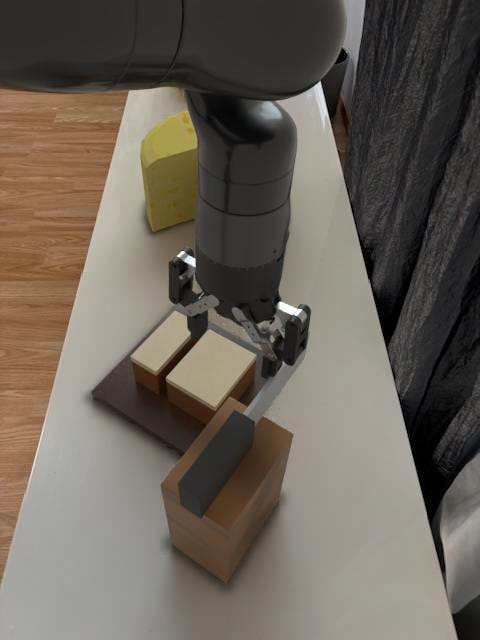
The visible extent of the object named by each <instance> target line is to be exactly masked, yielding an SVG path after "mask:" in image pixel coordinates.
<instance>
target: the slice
mask: <svg viewBox="0 0 480 640" xmlns="http://www.w3.org/2000/svg"><path fill="white" fill-rule="evenodd" d="M199 340H200V338H199ZM199 340H197V341H196V340H195V339H193V338H191V334H190V332H189V330H188V328H187V317H186V316H184V315H183V314H181V313H179V312H177V311H174V312H173V313H172V314H171V315H170V316H169V317H168V318H167V319H166V320H165V321H164V322H163V323H162V324H161V325H160V326H159V327H158V328H157V329H156V330H155V331H154V332H153V333H152V334H151V336H150V337H149V338H148V339H147V340H146V341H145V342H144V343H143V344H142V345H141V346H140V347H139V348H138V349H137V350H136V351H135V352H134V353H133V354H132V355H131V356H130V358H131V362H132V367H133V372H134V377H135V381H137V382H139V383H140V384H142V385H144V386H145V387H147V388H148V389H150V390H152V391H153V392H155V393H157V394H158V395H160V394H161V393H162V392H163V391H164V390H165V389H166V388H167V383H166V377H167V376H168V375H169V374H170V372H171V371H172V370H173V369H174V368H175V367H176V366H177V365H178V364H179V362H180V361H181V360H182V359H183V358H184V357H185V356H186V355H187V353H188V352H189V351H190V350H191V349H192V348H193V347H194V346H195V345H196V343H197V342H198V341H199Z"/></svg>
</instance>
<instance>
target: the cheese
mask: <svg viewBox="0 0 480 640" xmlns="http://www.w3.org/2000/svg"><path fill="white" fill-rule="evenodd" d="M139 158H140V159H139V160H140V166H141V167H140V169H141V176H142V184H143V192H144V199H145V207H146V209H145V210H146V214H147V215H146V216H147V220H148V222H149V226H150V228H151V231H152V232H153V233H154V232H158V231H161V230H164V229H166V228H170V227H173V226H176V225H179V224H181V223H182V224H183V223H185V222H187V221H190V220H193V219H194V220H195V202H196V196H197V136H196V132H195V129H194V126H193V123H192V120H191V117H190V114H189V111H188V110H183V111H181V112H179V113H176V114H173V115H170V116H167V117H166V118H164V119H163V120H161V121H160V122H159V123H156V125H154V126H152V127H151V128H150V129H149V131H148V132H147V133H146V134H145V136H144V137H143V139H142V140H141V144H140V152H139Z"/></svg>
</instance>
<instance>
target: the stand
mask: <svg viewBox="0 0 480 640" xmlns="http://www.w3.org/2000/svg"><path fill="white" fill-rule="evenodd" d="M247 408H248V407H247V406H245V405H243V404H242V403H240V402H238V401H237V400H235V399H233V398H231V397H229V398H228V399H227V400H226V402H225V403H224V404H223V406H222V407H221V408H220V409H219V411H218V412H217V413H216V415H215V416H214V417H213V418H212V420H211V421H210V422H209V423H208V425H207V426H206V427H205V429H204V430H203V431H202V432H201V434H200V435H199V436H198V437H197V439H196V440H195V441H194V443H193V444H192V445H191V446H190V448H189V449H188V450H187V451H186V453H185V454H184V455H183V456H181V458H180V459H179V460H178V462H177V463H176V464H175V465H174V467H173V468H172V469H171V470H170V472H169V473H168V474H167V475H166V477H165V478H164V479H163V480H162V482H161V483H160V484H159V485H160V486H159V487H160V491H161V495H162V501H163V507H164V510H165V517H166V521H167V527H168V532H169V537H170V542H171V545H172V546H173V547H174V548H176V549H177V550H179V551H180V552H182V553H183V554H184V555H186V556H187V557H188V558H190V559H191V560H192V561H194V562H195V563H197V564H198V565H199V566H201V567H202V568H203V569H205V570H206V571H208V573H211V574H212V575H213V576H214V577H216V578H217V579H219V580H220V581H221V582H222V583H224V584H228V582H229V580H230V579H231V577H232V576H233V574H234V572H235V571H236V569H237V568H238V566H239V565H240V563H241V562H242V560H243V558H244V557H245V555H246V553H247V552H248V550H249V548H250V547H251V545H252V543H253V542H254V541H255V539H256V537H257V536H258V534H259V533H260V531H261V529H262V528H263V527H264V526H265V523H266V522H267V520H268V518H269V516H270V515H271V514H272V512H273V511H274V509H275V507H276V506H277V504H278V502H279V501H280V496H281V492H282V487H283V483H284V479H285V478H284V477H285V474H286V470H287V465H288V461H289V456H290V452H291V449H292V443H293V439H294V435H295V434H294V433H293V432H291V431H289V430H288V429H286V428H285V427H283V426H281V425H279V424H277V423H276V422H274V421H272V420H271V419H269V418H267V417H266V416H264V415H263V416H262V418H261V419H260V421H259V422H258V423H257V425H256V426H255V428H254V437H253V446H252V447H251V449H250V450H249V452H248V453H247V454H246V456H245V457H244V459H243V460H242V462H241V463H240V464H239V466H238V467H237V469H236V470H235V471H234V473H233V474H232V476H231V477H230V479H229V480H228V481H227V483H226V484H225V486H224V487H223V488H222V490H221V491H220V493H219V494H218V495H217V497H216V498H215V500H214V501H213V503H212V504H211V505H210V507H209V508H208V510H207V511H206V512H205V514H204V515H203V517H202V518H201V519H200V518H199V517H197V516H196V515H194V514H193V513H191V512H190V511H188V510H187V509H186V508H184V507H183V506H181V505H180V497H179V490H178V482H179V481H180V480H181V479H182V477H183V476H184V475H185V473H186V472H187V471H188V469H189V468H190V467H191V465H192V464H193V463H194V462H195V460H196V459H197V458H198V456H199V455H200V454H201V452H202V451H203V450H204V449H205V447H206V446H207V445H208V443H209V442H210V441H211V439H212V438H213V437H214V435H215V434H216V433H217V432H218V430H219V429H220V428H221V426H222V425H223V424H224V422H225V421H226V420H227V418H228V417H229V416H230V415H231V413H232V412H233V411H234V410H236V411H238V412H240V413H241V414H243V413H244V412H245V411H246V409H247Z"/></svg>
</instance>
